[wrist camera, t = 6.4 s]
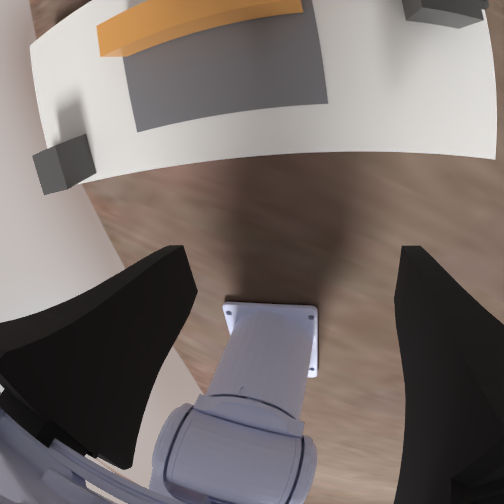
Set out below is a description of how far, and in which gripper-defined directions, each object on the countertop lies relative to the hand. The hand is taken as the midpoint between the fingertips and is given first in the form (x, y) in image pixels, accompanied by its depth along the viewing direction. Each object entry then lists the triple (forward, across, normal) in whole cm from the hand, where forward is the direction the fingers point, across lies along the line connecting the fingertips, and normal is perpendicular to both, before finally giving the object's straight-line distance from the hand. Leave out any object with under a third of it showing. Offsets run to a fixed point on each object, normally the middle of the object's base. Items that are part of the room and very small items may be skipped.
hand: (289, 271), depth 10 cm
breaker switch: (+7, +4, -10) cm, 13 cm away
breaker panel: (+10, +4, -8) cm, 14 cm away
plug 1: (+7, +16, -4) cm, 18 cm away
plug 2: (+8, -7, -10) cm, 15 cm away
